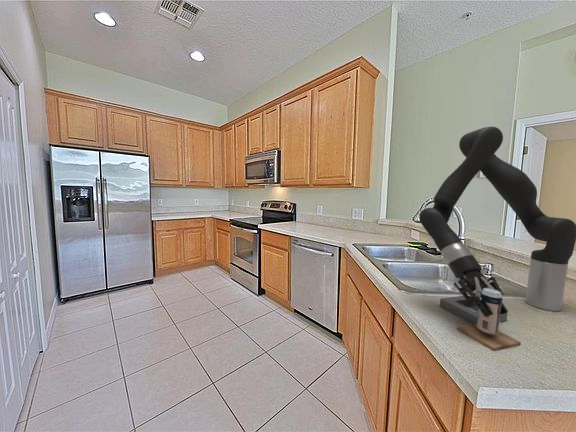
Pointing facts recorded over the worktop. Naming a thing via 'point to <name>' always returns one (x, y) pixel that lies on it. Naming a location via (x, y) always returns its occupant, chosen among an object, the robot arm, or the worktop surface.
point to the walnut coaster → (489, 338)
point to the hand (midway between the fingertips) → (496, 314)
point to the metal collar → (464, 308)
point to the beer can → (494, 303)
